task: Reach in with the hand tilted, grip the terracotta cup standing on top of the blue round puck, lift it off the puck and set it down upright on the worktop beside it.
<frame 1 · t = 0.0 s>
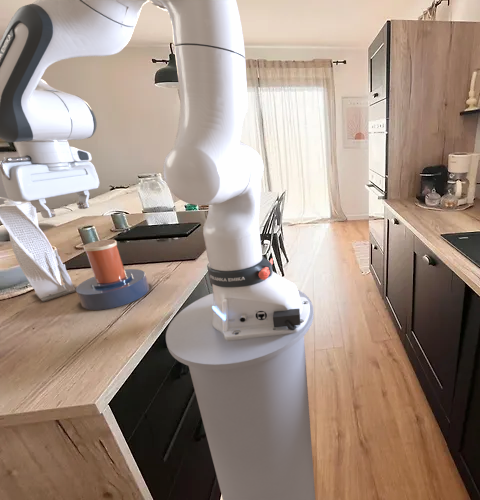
hand: (67, 212, 72), 23 cm above the counter, tool pointing down, fingers open, 8 cm apart
terracotta cup: (111, 278, 78), point 5 cm above the counter, touching blue round puck
skyscraper: (52, 294, 81), on the counter
blue round puck: (117, 295, 80), on the counter
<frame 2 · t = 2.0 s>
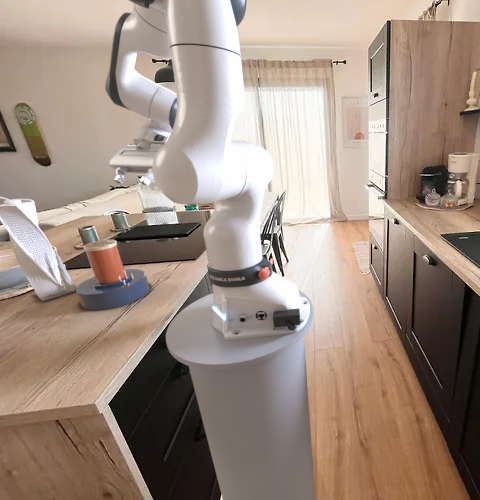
hand: (130, 183, 80), 29 cm above the counter, tool tilted 45°, fingers open, 8 cm apart
nothing on the counter moved.
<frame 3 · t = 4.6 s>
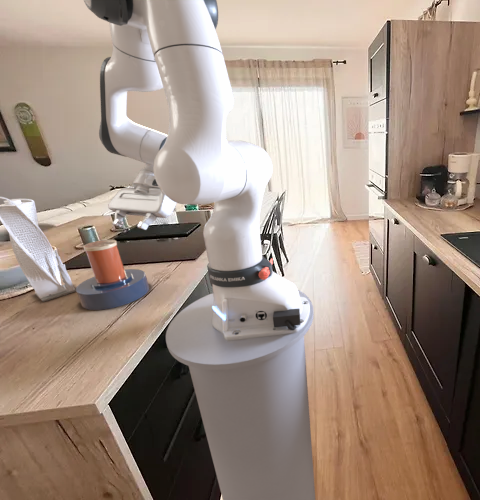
hand: (128, 227, 81), 17 cm above the counter, tool tilted 45°, fingers open, 8 cm apart
nothing on the counter moved.
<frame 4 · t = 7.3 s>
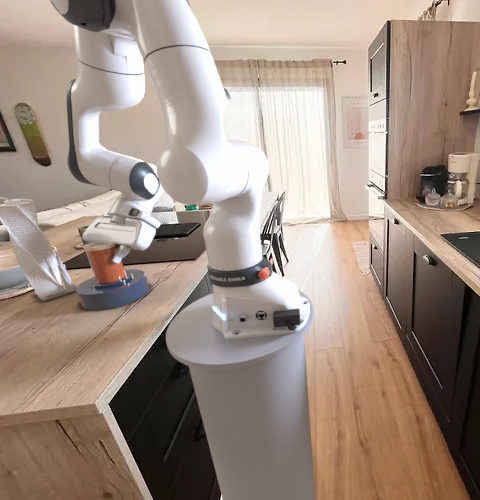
hand: (103, 260, 75), 11 cm above the counter, tool tilted 45°, fingers closed on terracotta cup, 6 cm apart
terracotta cup: (111, 278, 78), point 5 cm above the counter, touching gripper, blue round puck
everything else where it was.
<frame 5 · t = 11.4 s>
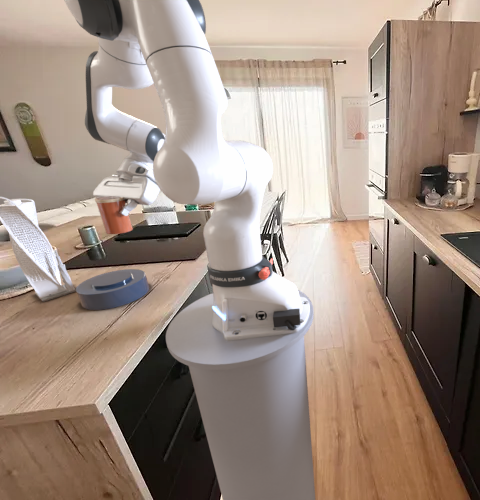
hand: (112, 213, 83), 20 cm above the counter, tool tilted 45°, fingers closed on terracotta cup, 6 cm apart
terracotta cup: (119, 231, 86), point 15 cm above the counter, touching gripper
everything else where it was.
when the fingers open (5 cm above the counter, at t = 15.7 s): terracotta cup stays where it is, on the counter.
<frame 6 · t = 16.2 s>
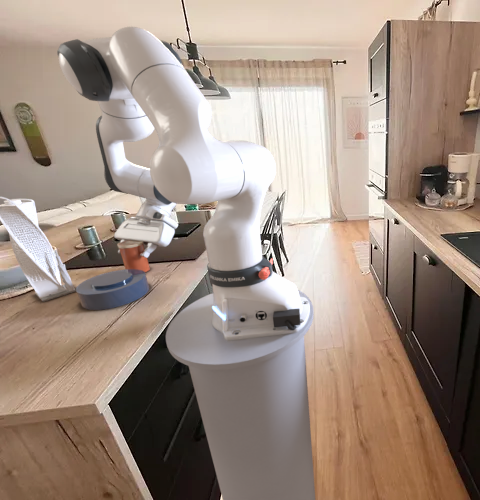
hand: (132, 255, 92), 6 cm above the counter, tool tilted 45°, fingers open, 8 cm apart
terracotta cup: (138, 270, 95), on the counter
everything else where it was.
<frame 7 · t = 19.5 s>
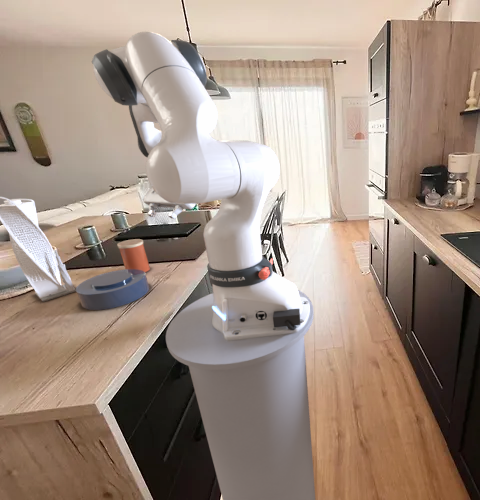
hand: (160, 216, 100), 15 cm above the counter, tool tilted 45°, fingers open, 8 cm apart
nothing on the counter moved.
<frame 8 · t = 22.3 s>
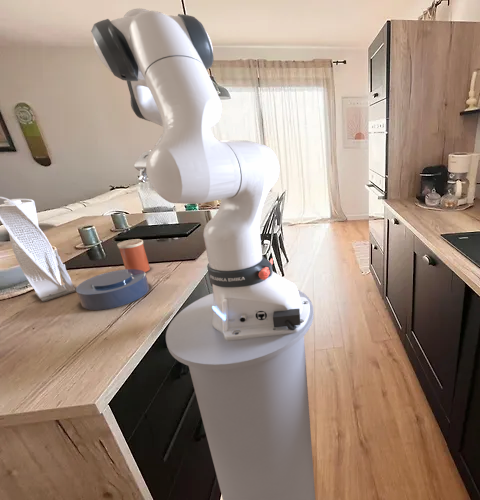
hand: (152, 182, 96), 27 cm above the counter, tool tilted 45°, fingers open, 8 cm apart
nothing on the counter moved.
at the end: terracotta cup inside the target area (0.1 cm from its centre), on the counter; terracotta cup tilted 0°; terracotta cup touching counter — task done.
